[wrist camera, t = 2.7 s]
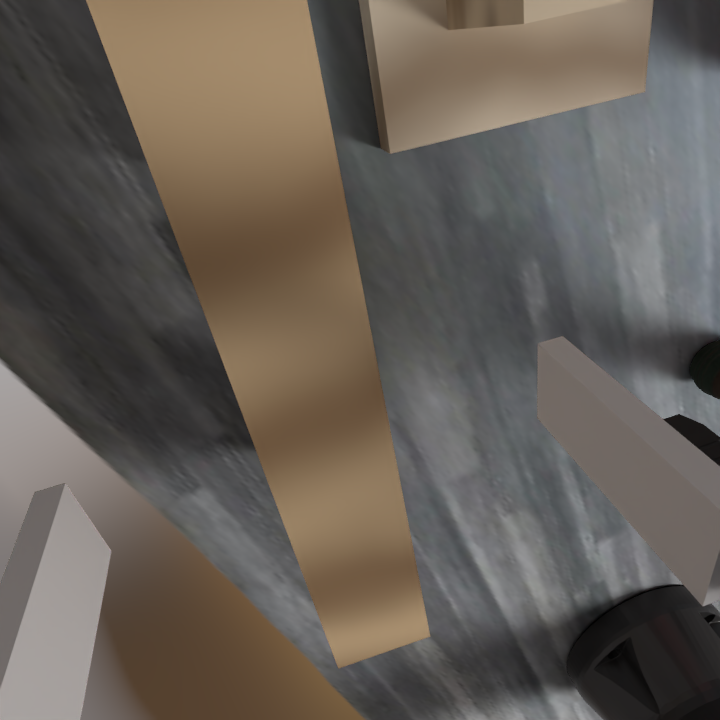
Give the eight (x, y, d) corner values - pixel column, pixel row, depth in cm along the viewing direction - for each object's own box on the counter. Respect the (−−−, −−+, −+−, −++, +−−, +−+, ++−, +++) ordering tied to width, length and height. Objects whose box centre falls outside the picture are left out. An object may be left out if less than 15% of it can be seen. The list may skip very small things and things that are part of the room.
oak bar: (395, 544, 27) (430, 636, 22) (318, 569, 26) (338, 668, 22) (264, -55, 14) (287, -99, 10) (109, -24, 14) (64, -58, 9)
